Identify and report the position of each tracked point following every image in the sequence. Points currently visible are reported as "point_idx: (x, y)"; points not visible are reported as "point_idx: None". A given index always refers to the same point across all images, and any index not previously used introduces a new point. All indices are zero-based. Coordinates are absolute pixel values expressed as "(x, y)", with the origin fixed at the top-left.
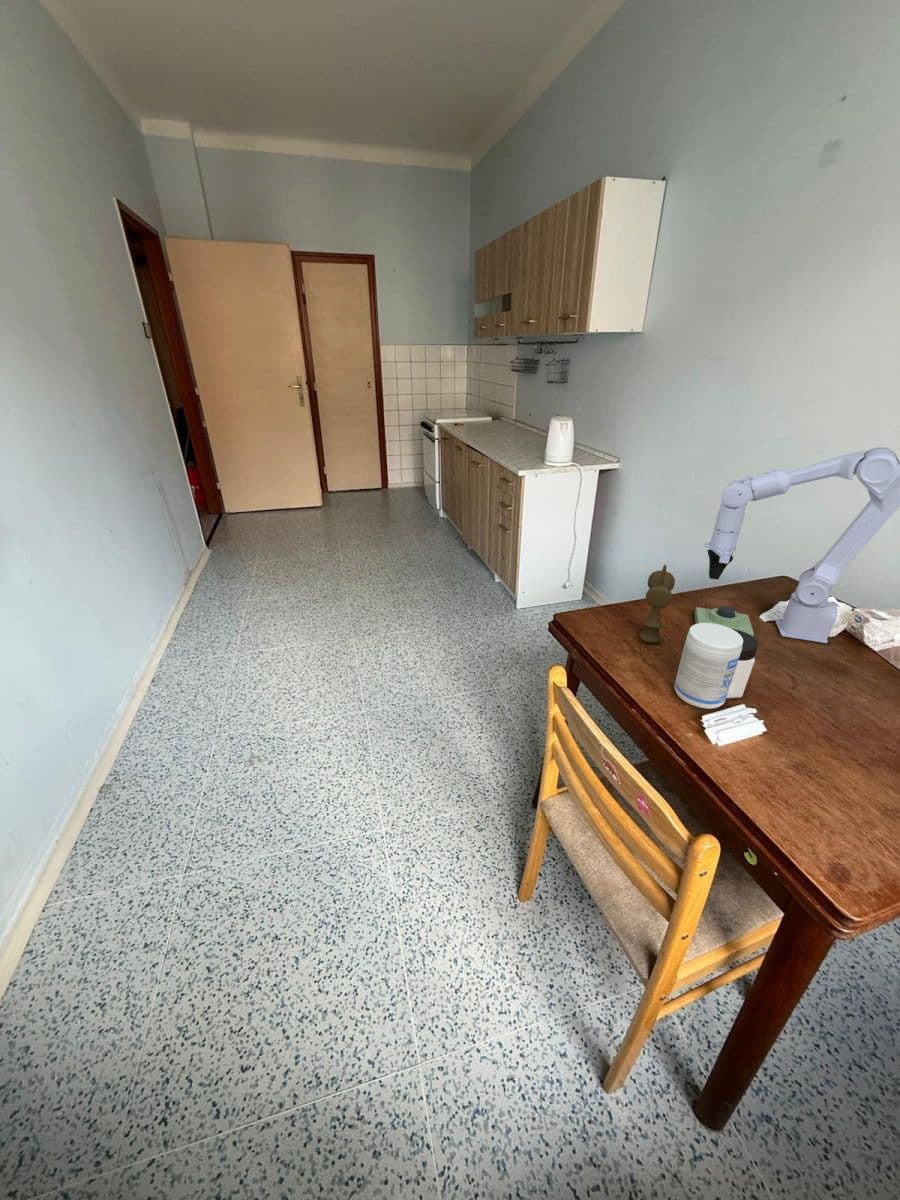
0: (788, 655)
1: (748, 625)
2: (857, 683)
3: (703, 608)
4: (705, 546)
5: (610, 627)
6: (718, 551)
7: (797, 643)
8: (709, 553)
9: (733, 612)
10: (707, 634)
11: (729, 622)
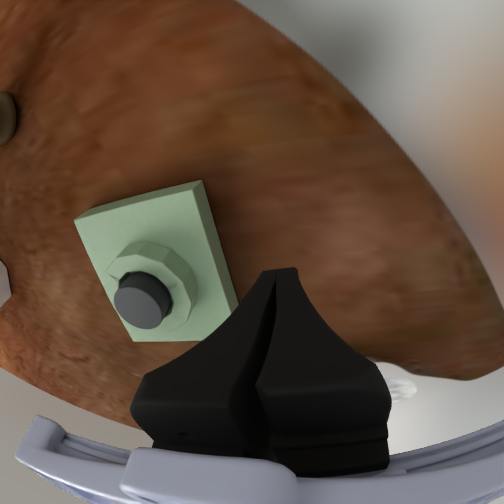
0: (144, 371)
1: (169, 335)
2: None
3: (196, 215)
4: (129, 460)
5: (9, 22)
6: (57, 480)
7: None
8: (178, 409)
9: (130, 323)
10: None
11: None
